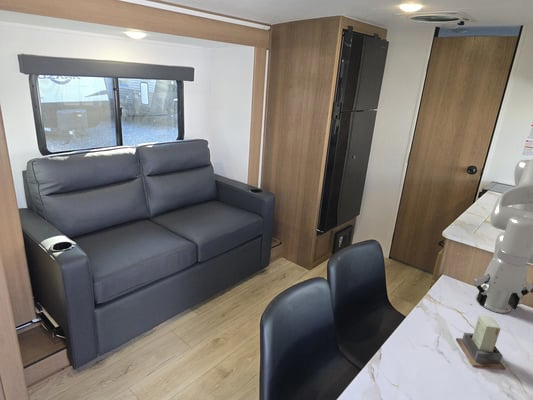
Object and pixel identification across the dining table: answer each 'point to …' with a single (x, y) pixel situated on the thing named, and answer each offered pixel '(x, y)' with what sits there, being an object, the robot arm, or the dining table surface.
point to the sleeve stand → (480, 354)
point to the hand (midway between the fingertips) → (496, 304)
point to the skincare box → (486, 333)
